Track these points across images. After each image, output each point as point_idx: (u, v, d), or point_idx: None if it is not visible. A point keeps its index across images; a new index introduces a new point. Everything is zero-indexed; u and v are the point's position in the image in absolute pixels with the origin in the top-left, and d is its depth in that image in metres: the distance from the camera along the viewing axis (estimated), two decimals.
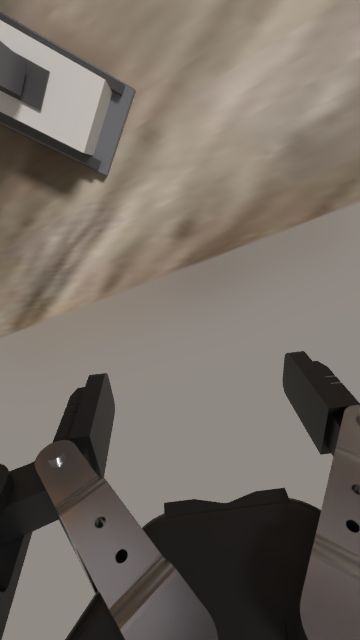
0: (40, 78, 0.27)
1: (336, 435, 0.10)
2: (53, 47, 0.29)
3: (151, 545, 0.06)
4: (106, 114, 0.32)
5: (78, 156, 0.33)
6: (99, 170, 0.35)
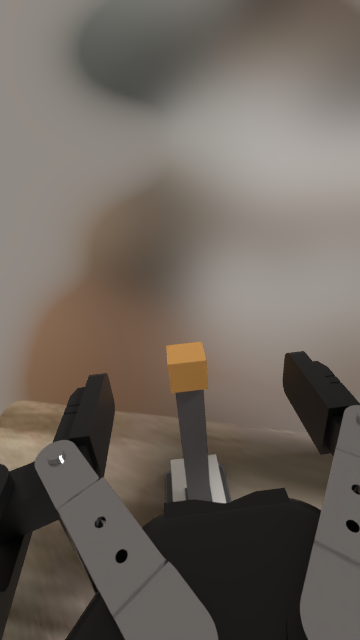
0: None
1: (336, 435, 0.10)
2: None
3: (151, 545, 0.06)
4: None
5: None
6: None
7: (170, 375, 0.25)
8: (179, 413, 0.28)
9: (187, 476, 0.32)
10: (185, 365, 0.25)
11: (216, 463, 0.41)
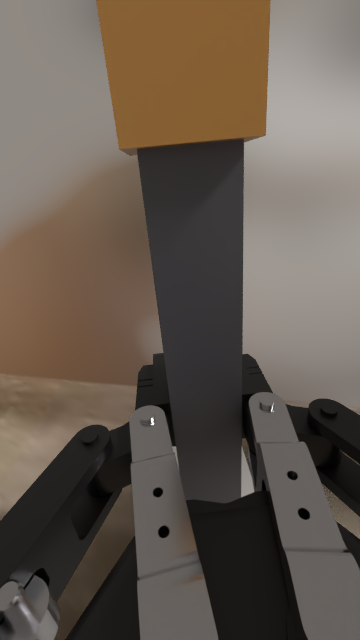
0: None
1: (246, 420, 0.11)
2: None
3: (193, 537, 0.06)
4: None
5: None
6: None
7: (107, 33, 0.06)
8: (157, 269, 0.08)
9: (185, 481, 0.12)
10: None
11: (242, 455, 0.21)
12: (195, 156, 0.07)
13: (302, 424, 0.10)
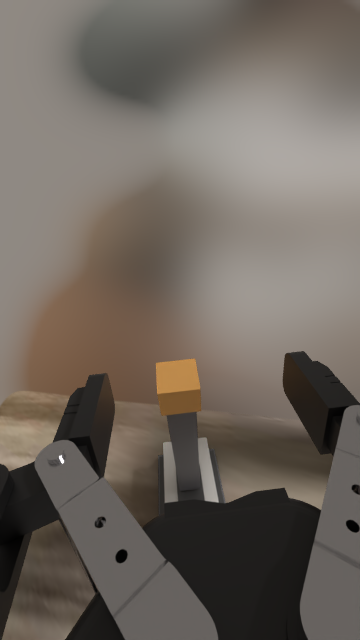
0: (197, 497, 0.36)
1: (336, 435, 0.10)
2: None
3: (151, 545, 0.06)
4: None
5: None
6: None
7: (160, 402, 0.23)
8: (170, 427, 0.26)
9: (178, 469, 0.32)
10: (176, 393, 0.22)
11: (206, 445, 0.43)
12: None
13: None
